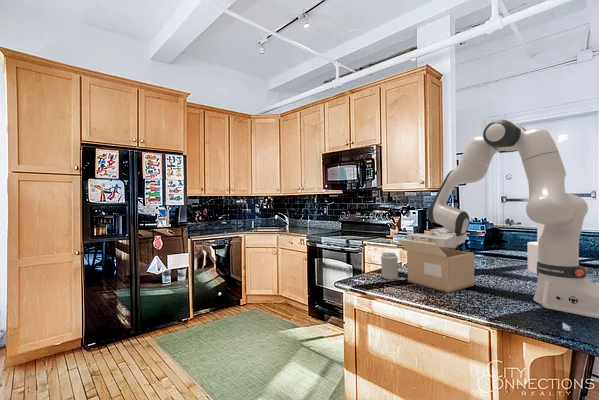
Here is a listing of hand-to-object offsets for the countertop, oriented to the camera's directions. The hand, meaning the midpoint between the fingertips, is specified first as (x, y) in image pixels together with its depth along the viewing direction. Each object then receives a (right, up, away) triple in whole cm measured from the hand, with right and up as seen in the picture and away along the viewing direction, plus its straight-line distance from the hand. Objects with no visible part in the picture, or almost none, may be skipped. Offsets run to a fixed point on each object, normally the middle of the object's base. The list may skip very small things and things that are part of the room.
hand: (417, 241), depth 131 cm
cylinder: (+74, -18, +24) cm, 80 cm away
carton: (+13, -20, +7) cm, 25 cm away
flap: (+2, -2, +1) cm, 3 cm away
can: (-6, -20, +18) cm, 28 cm away
